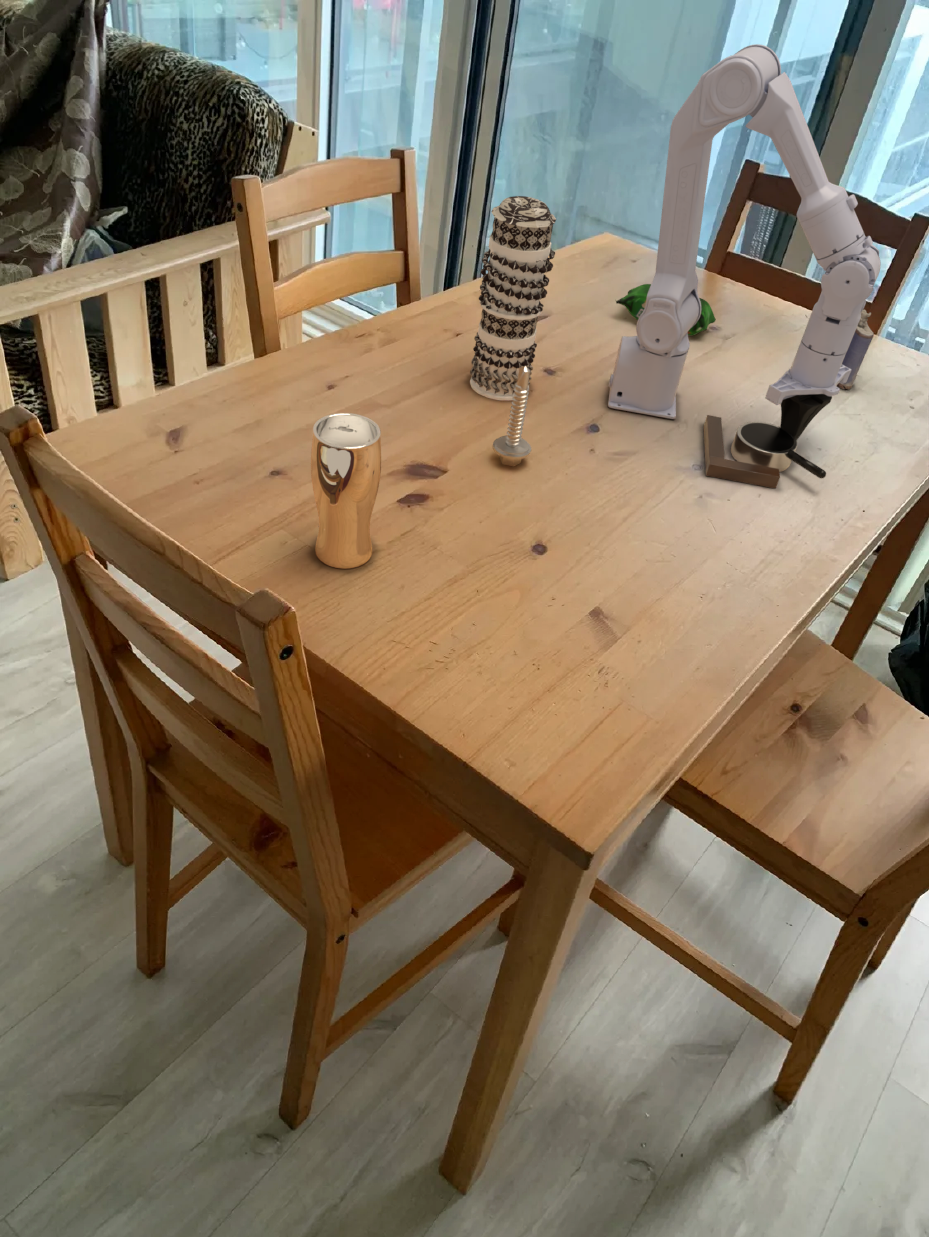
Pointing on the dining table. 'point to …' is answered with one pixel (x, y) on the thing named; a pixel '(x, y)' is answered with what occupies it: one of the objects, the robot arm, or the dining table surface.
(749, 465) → the corner stop
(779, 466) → the steel pan
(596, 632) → the dining table surface
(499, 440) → the screw
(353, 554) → the beer glass
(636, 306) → the snack package
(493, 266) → the decorative candle
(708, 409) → the dining table surface
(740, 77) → the robot arm
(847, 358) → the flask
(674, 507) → the dining table surface
